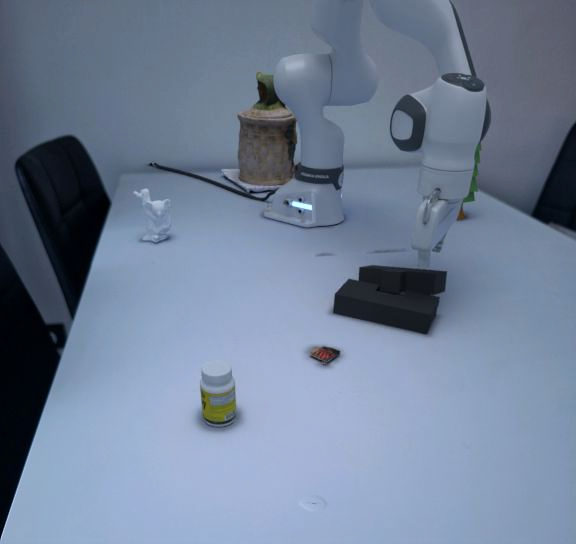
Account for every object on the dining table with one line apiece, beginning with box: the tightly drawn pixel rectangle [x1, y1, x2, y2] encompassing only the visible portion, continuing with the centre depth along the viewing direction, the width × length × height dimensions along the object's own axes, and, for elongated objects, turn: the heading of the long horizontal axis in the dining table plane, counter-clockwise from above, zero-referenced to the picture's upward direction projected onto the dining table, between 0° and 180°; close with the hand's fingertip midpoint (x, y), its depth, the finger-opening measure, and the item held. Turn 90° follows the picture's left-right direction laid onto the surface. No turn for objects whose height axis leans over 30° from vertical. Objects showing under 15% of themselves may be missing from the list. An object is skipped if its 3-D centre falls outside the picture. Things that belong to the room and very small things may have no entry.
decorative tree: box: [456, 141, 482, 221], centre depth 144 cm, size 10×9×30 cm
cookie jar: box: [221, 70, 298, 194], centre depth 170 cm, size 25×25×32 cm
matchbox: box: [309, 345, 341, 366], centre depth 88 cm, size 5×5×1 cm
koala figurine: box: [133, 188, 173, 243], centre depth 128 cm, size 8×7×12 cm
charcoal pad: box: [332, 278, 441, 335], centre depth 100 cm, size 18×8×4 cm, turn 65°
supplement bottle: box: [199, 359, 238, 428], centre depth 72 cm, size 5×5×8 cm
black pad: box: [357, 264, 448, 296], centre depth 104 cm, size 16×8×4 cm, turn 56°
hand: (430, 259), depth 100 cm, fingers open, 8 cm apart
